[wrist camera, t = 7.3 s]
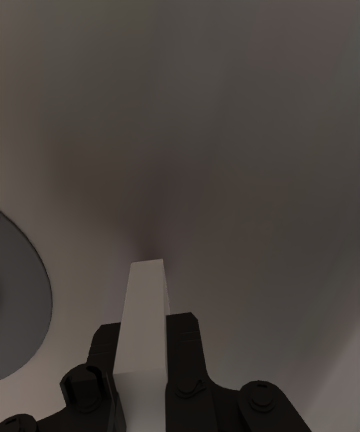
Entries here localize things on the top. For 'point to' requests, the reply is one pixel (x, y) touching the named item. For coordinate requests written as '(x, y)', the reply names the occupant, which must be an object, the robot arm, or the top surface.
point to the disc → (21, 299)
